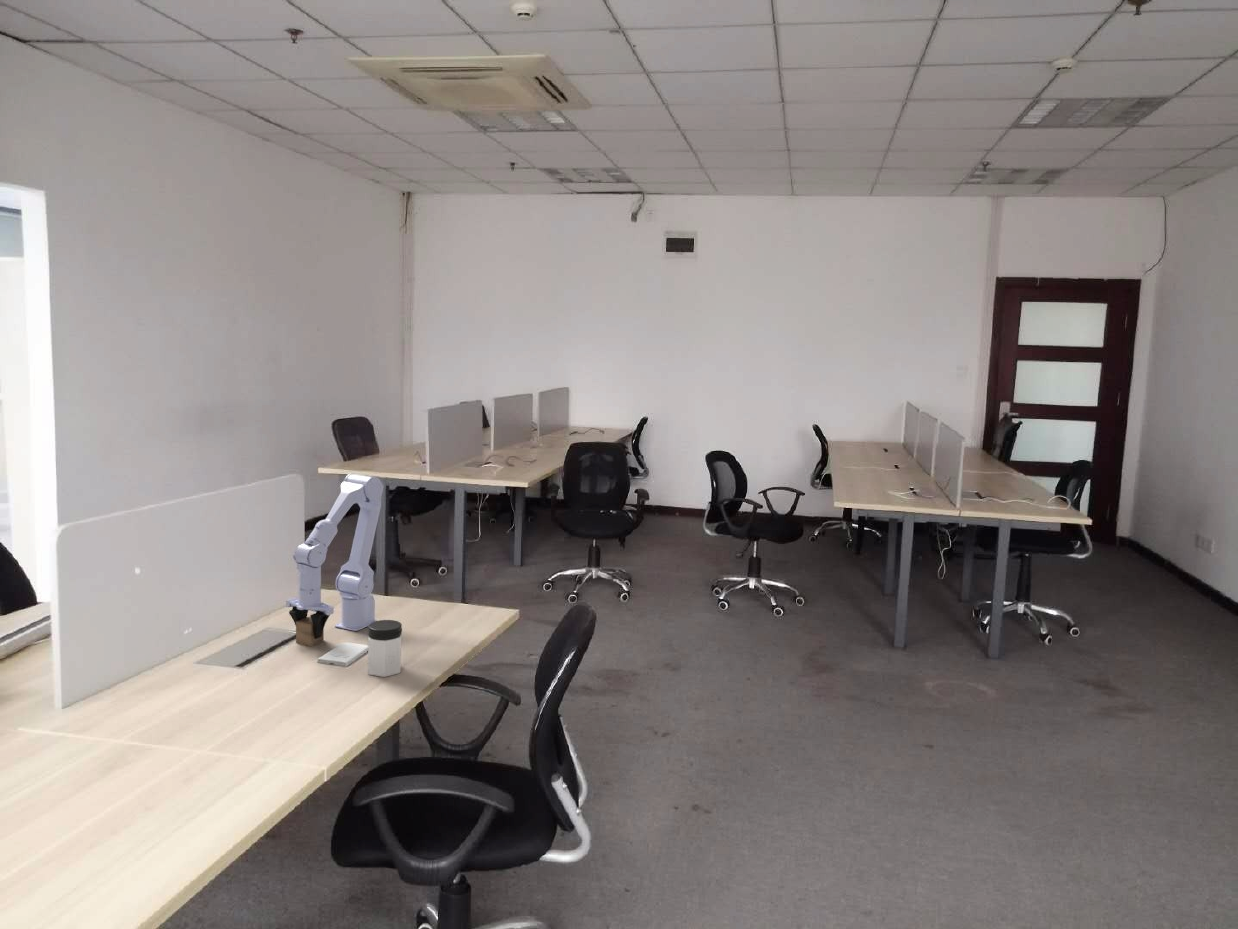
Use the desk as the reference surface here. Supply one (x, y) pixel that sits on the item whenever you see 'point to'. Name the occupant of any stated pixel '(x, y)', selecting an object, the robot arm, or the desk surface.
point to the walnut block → (306, 632)
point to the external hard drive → (343, 654)
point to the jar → (384, 648)
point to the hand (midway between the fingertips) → (309, 635)
